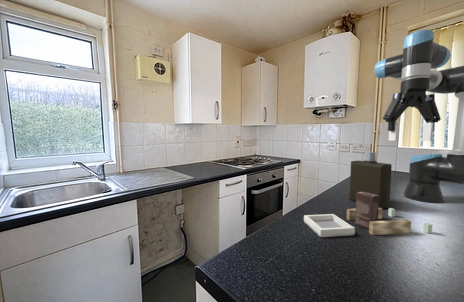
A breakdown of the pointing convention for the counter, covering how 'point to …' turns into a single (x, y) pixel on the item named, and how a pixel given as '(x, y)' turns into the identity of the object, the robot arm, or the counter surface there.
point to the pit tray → (329, 225)
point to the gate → (427, 226)
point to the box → (366, 208)
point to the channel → (384, 224)
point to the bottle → (371, 179)
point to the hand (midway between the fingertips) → (409, 141)
